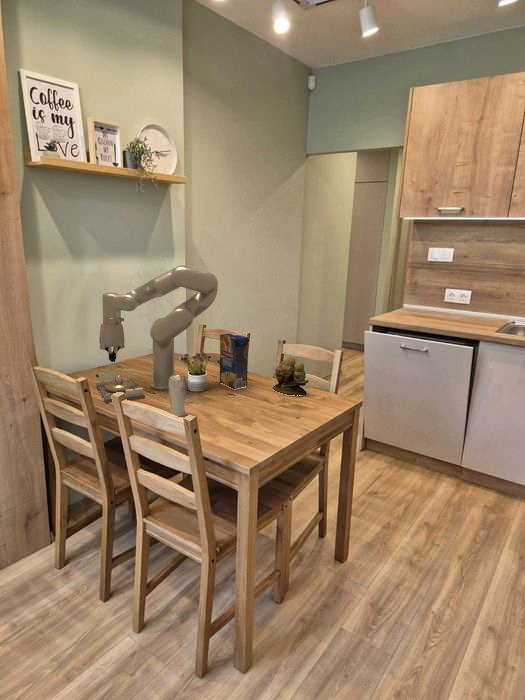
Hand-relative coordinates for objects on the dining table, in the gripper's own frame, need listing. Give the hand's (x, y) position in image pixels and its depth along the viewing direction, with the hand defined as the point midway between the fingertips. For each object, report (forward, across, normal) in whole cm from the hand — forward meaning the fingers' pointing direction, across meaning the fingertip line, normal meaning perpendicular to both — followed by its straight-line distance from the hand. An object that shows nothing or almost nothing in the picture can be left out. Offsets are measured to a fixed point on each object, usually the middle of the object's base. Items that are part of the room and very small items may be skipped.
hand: (112, 361), depth 200 cm
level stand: (+12, -1, +9) cm, 15 cm away
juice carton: (+11, -50, +22) cm, 56 cm away
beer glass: (+11, -15, +44) cm, 48 cm away
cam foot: (+10, +1, +7) cm, 12 cm away
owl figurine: (+10, -70, +40) cm, 82 cm away
